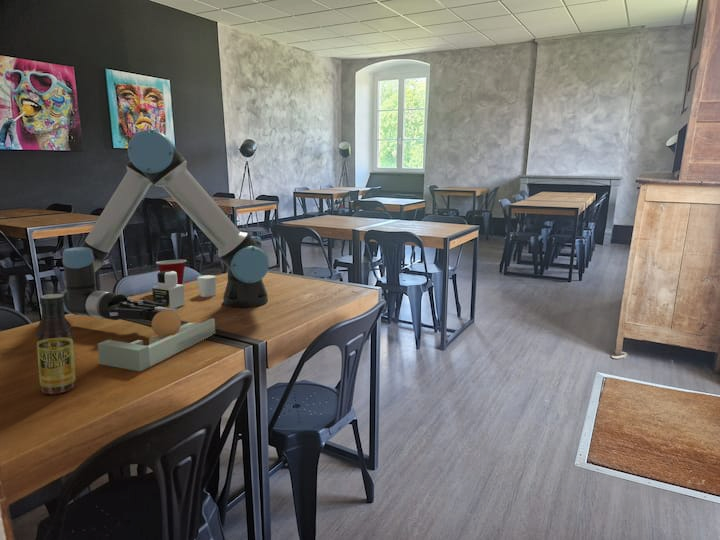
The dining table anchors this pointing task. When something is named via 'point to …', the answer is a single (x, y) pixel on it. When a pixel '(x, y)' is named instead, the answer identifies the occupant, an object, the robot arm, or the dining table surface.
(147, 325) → the dining table surface
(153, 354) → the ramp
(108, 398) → the dining table surface
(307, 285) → the dining table surface
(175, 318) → the ball
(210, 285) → the white tapered cup
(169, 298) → the medicine bottle
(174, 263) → the plastic cup
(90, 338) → the dining table surface
